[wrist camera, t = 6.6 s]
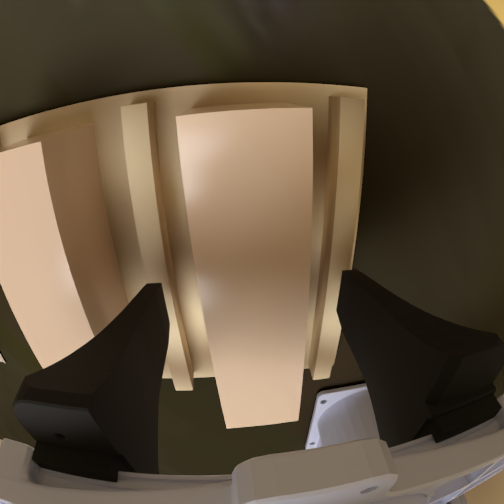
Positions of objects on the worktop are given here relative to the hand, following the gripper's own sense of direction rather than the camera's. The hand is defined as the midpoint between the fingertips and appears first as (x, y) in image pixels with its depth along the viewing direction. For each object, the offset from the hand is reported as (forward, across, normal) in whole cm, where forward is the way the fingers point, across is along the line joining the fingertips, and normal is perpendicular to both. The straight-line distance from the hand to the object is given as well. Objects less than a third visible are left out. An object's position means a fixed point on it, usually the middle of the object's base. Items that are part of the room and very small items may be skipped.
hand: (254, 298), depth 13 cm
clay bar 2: (+3, 0, 0) cm, 3 cm away
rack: (+4, +4, 0) cm, 5 cm away
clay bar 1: (+3, +8, 0) cm, 8 cm away
